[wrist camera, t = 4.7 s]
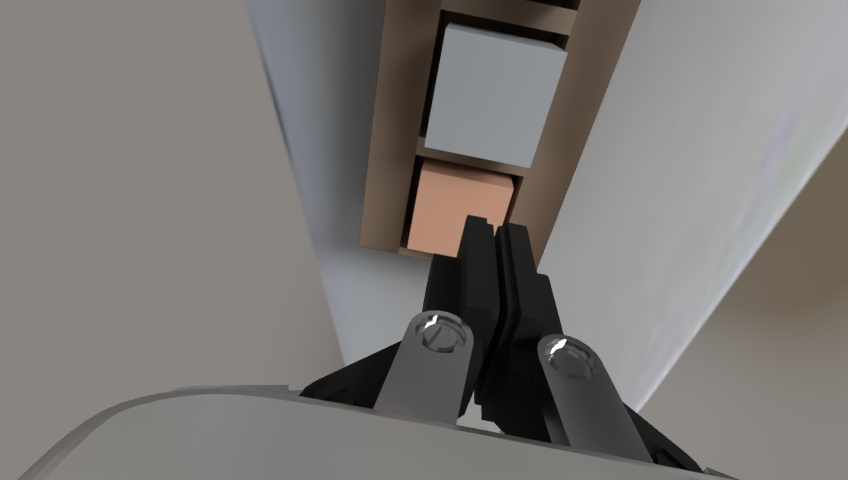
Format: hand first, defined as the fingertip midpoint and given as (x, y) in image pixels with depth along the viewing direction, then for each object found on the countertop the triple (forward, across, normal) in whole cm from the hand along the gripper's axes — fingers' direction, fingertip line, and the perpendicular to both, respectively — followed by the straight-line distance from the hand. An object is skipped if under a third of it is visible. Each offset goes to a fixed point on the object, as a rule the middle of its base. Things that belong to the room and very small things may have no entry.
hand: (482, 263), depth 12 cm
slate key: (+13, 0, -3) cm, 13 cm away
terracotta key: (+15, 0, +5) cm, 15 cm away
